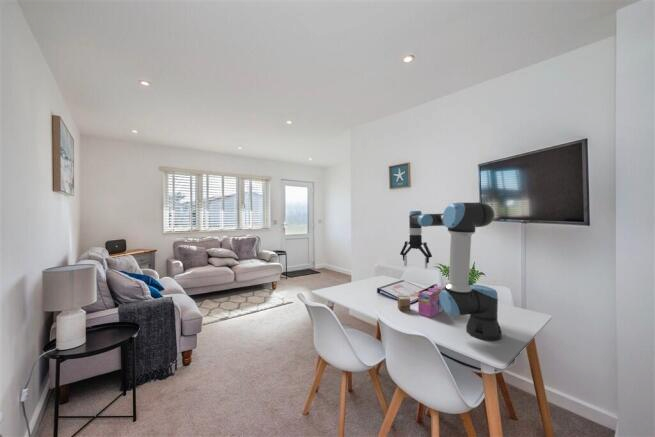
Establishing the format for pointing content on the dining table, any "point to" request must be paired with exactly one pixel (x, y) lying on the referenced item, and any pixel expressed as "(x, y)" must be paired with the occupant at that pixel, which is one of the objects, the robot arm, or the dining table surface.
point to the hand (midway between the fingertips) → (415, 266)
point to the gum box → (430, 301)
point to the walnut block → (403, 303)
